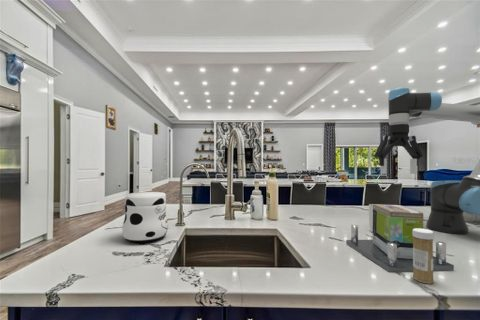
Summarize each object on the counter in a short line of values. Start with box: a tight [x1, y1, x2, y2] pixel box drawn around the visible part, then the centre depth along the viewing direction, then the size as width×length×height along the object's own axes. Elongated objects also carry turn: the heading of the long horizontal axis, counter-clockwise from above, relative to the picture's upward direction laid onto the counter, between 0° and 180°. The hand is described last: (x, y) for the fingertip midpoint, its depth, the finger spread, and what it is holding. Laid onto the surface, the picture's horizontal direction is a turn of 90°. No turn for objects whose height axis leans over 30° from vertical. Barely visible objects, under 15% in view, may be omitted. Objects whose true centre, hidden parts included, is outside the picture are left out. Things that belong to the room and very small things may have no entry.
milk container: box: [121, 191, 169, 243], centre depth 99 cm, size 17×17×18 cm
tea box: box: [372, 203, 424, 259], centre depth 83 cm, size 15×10×15 cm, turn 170°
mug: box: [368, 203, 374, 234], centre depth 110 cm, size 10×7×12 cm, turn 94°
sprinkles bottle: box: [412, 228, 435, 284], centre depth 65 cm, size 5×5×14 cm
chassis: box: [345, 224, 455, 273], centre depth 82 cm, size 20×24×8 cm
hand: (398, 173), depth 105 cm, fingers open, 13 cm apart
